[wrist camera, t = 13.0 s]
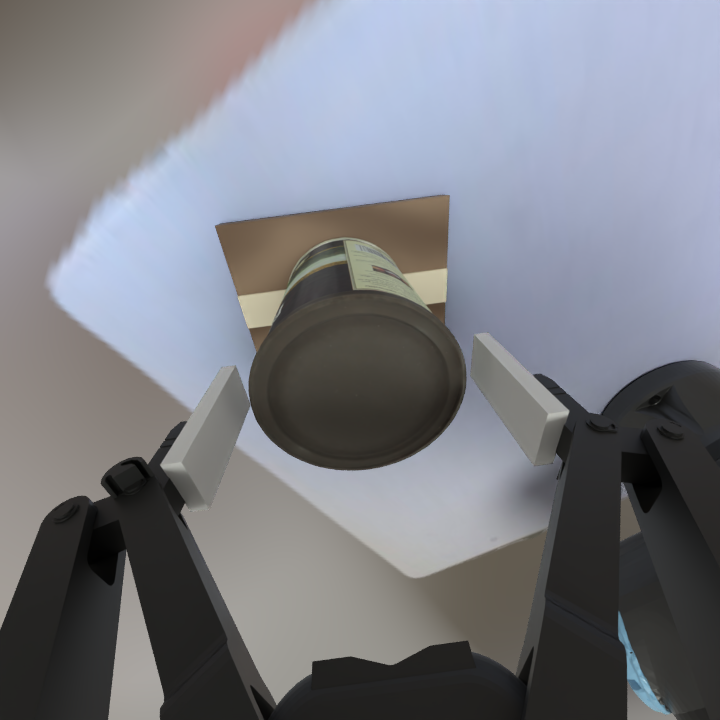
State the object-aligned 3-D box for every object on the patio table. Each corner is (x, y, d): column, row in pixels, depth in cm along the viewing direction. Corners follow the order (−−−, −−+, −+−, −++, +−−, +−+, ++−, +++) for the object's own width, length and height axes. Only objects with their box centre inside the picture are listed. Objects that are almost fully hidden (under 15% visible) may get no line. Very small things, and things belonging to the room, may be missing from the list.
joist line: (445, 301, 27) (446, 301, 27) (248, 327, 27) (248, 328, 27) (446, 267, 26) (447, 268, 26) (238, 295, 26) (237, 296, 25)
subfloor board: (438, 362, 32) (442, 369, 31) (272, 385, 32) (270, 393, 31) (443, 194, 24) (449, 195, 23) (221, 223, 24) (214, 226, 23)
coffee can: (292, 351, 29) (263, 477, 16) (281, 235, 23) (226, 294, 11) (399, 350, 29) (446, 468, 17) (411, 238, 24) (492, 294, 12)
